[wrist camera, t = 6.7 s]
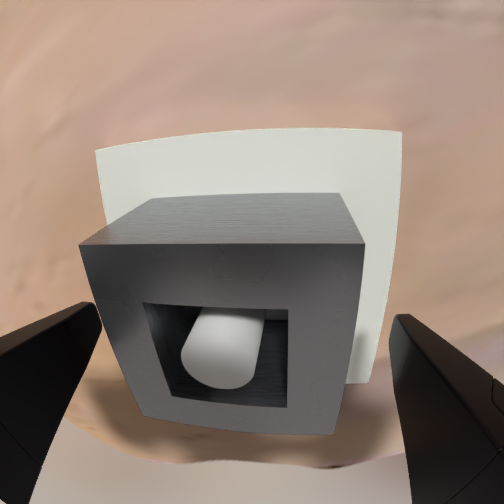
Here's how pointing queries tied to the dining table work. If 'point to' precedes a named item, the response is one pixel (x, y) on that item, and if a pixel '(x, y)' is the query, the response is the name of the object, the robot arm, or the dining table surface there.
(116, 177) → the post block
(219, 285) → the square hole block
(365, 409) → the dining table surface
